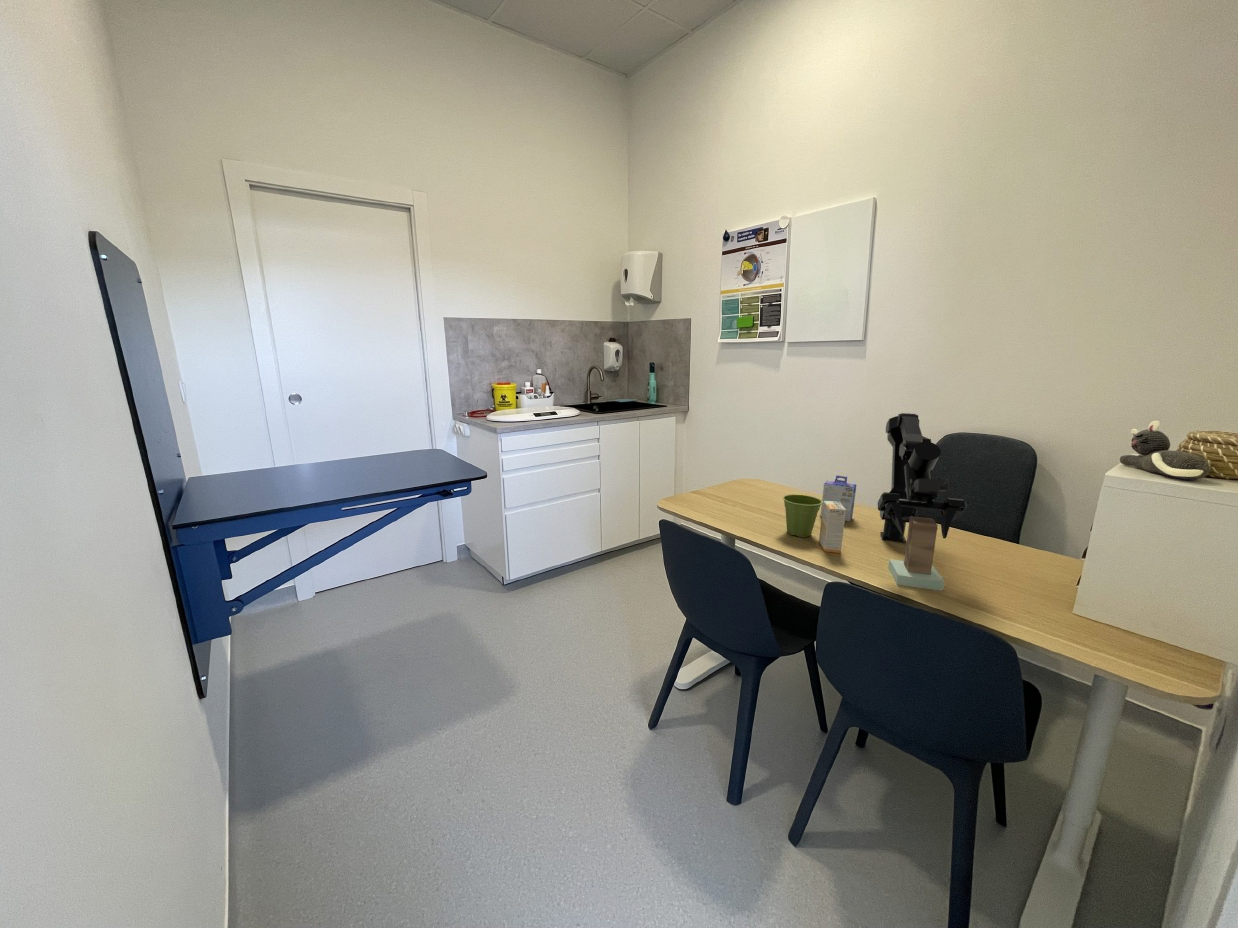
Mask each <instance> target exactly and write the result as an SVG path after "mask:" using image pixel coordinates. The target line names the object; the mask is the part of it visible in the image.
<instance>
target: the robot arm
mask: <svg viewBox="0 0 1238 928" xmlns="http://www.w3.org/2000/svg"><path fill="white" fill-rule="evenodd" d="M885 433H886V434H887V437H886V439H887V442H888V443H889V444H890V446H891V447H892V458H891V459H892V462H891V465H892V466H891V484H890V485H891V488H890V491H889V492H887V491H885V492H882V493H881V495H880V497H879V499H878V501H877V510H878V511H879V517H880V520H882V521H884V523H883V531H880V532H879V534H880V537H881V540H883V541H889V542H896V543H901V544H902V543H903V544H904V543H905V544H906V543H907V538H906V537H905V532H906V525H907V523H908V524H909V520H910V516H911V517H916V515H917V512H918V509H922V510H930V511H931V510H932V511H940V515H941V517H940V518H939V519H940V529H941V536H942V539H946V538H947V536H948V533H949V529H950V526H951V523H952V522H953V521H955V520H956V519H960V518H961V517H962V515H964V514H965V512H966V511H967V509H968V505H967V502H966V500H965V499H962V498H954V497H953V498H951V497H946V499H945V500H944V501H943V502H937V501H934V500H936V499H937V498H938V494H941V492H943V493H945V492H947V491H949V489H950V483H949V479H948V478H947V477H939V478H937V479H934V478H932V479H931V471H933V470H934V467H935V466H936V463H938V460H939V457H940V456H941V453H942V451H941V449H940V447H939V446H938V445H937V444H936V443H935V442H932V439H931V438H928V437H926V436H923V434H922V430H921V427H920V419H919V415H918V414H916V413H911V412H910V413H907V412H905V413H904V412H902V413H898V415H895V416H893V417H890V418H889V419H888V420H887V422H886V425H885Z"/></svg>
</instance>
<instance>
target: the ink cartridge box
mask: <svg viewBox="0 0 1238 928" xmlns="http://www.w3.org/2000/svg"><path fill="white" fill-rule="evenodd" d="M842 479H843V480H842ZM847 481H848V476H843V475H838V474H837V475H836V476H835V479H834V481H832V480H826V481H825V482H823V490H822V498H821V500H822V501H836V502H840V503H841V504H842V506H843V507H844V508H845V509H846V515H845V522H851V521H852V519H853V514H854V507H855V500H856V491H857V484H855V483H850V482H847ZM822 510H823V503H822V504H821V505H820V514H819V516H820V517H822Z"/></svg>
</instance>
